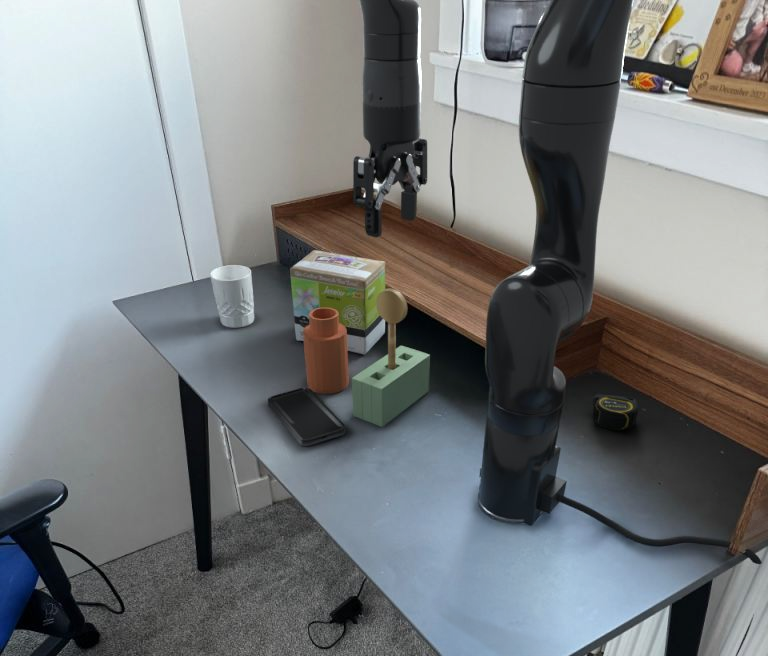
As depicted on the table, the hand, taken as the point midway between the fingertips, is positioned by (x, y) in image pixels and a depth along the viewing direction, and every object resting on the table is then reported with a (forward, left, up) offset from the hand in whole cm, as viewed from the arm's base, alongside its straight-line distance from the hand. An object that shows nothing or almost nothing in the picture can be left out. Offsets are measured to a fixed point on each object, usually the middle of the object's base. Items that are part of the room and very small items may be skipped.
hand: (391, 227), depth 103 cm
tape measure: (-32, -16, -29) cm, 46 cm away
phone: (+9, +12, -29) cm, 33 cm away
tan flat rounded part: (0, 0, -29) cm, 29 cm away
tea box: (+22, -14, -29) cm, 39 cm away
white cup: (+44, -8, -29) cm, 53 cm away
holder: (0, 0, -29) cm, 29 cm away
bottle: (+13, +1, -29) cm, 32 cm away
